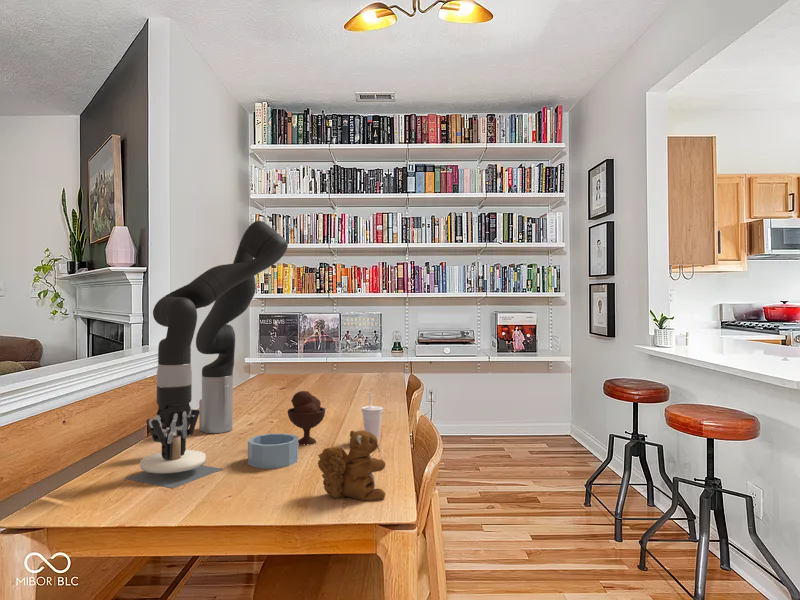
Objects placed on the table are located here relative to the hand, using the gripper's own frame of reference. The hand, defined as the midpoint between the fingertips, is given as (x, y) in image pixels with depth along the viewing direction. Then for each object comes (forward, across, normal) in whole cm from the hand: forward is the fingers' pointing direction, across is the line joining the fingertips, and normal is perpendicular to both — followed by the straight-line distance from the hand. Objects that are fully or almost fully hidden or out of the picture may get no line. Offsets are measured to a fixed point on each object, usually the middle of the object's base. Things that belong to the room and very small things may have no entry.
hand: (173, 456), depth 126 cm
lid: (+2, 0, 0) cm, 2 cm away
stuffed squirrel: (+4, -8, +43) cm, 44 cm away
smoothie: (+5, -48, +26) cm, 55 cm away
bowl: (+4, -18, +14) cm, 24 cm away
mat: (+4, 0, 0) cm, 4 cm away
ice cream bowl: (+5, -38, +10) cm, 40 cm away
